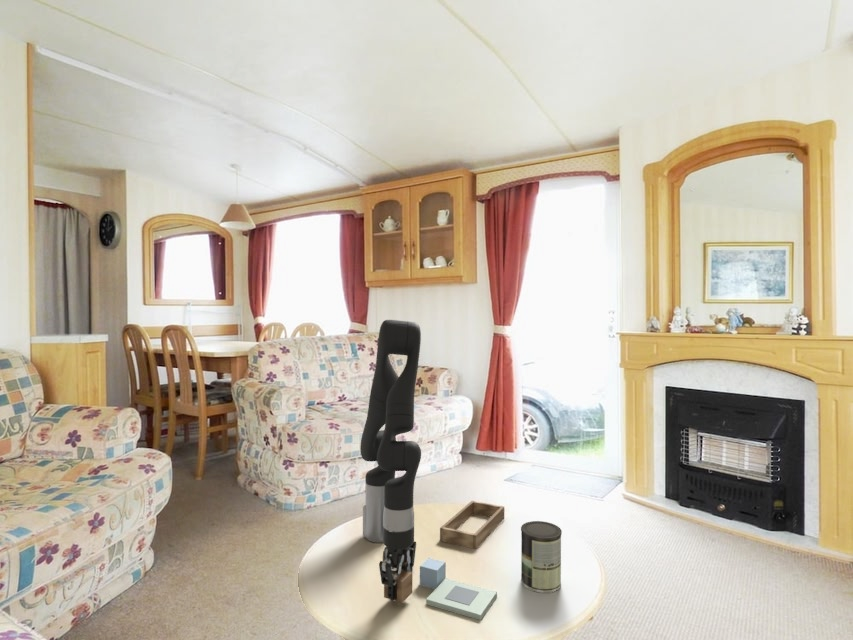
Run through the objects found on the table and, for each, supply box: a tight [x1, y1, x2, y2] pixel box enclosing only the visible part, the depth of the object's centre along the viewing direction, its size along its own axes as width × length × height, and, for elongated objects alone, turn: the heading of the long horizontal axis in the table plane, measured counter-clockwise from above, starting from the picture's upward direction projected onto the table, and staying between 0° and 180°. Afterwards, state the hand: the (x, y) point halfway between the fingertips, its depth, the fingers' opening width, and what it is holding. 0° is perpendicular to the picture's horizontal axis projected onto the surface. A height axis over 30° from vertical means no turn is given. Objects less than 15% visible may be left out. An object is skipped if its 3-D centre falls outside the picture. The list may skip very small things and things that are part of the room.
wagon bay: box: [439, 500, 505, 550], centre depth 165 cm, size 12×26×4 cm, turn 153°
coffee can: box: [520, 520, 563, 594], centre depth 132 cm, size 10×10×14 cm
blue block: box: [419, 557, 447, 590], centre depth 131 cm, size 5×5×5 cm
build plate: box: [425, 577, 498, 621], centre depth 123 cm, size 14×11×1 cm
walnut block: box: [383, 568, 413, 604], centre depth 122 cm, size 5×5×5 cm
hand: (398, 592), depth 122 cm, fingers closed on walnut block, 5 cm apart
